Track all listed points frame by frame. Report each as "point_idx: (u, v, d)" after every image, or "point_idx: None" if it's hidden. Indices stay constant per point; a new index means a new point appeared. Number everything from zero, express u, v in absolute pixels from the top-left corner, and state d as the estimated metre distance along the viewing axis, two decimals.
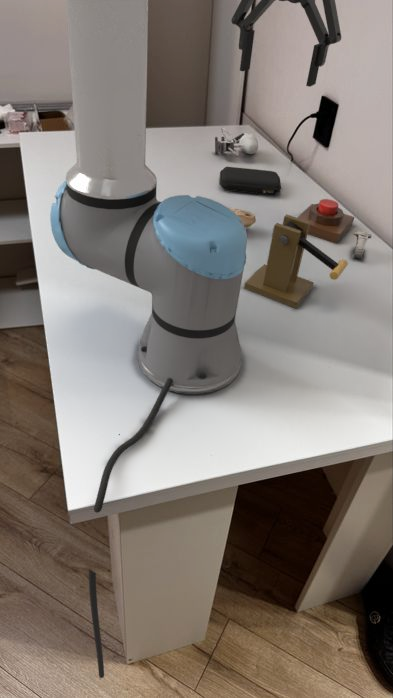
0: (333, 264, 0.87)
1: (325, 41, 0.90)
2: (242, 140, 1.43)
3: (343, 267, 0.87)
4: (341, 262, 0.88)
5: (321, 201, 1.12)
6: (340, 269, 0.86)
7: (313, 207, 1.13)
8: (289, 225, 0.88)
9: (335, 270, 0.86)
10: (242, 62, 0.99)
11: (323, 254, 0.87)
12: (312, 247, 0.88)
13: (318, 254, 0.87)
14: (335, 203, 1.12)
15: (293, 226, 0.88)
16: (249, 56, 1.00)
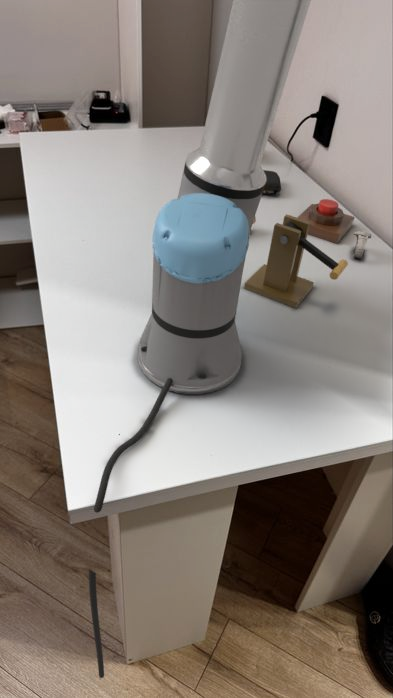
0: (333, 264, 0.87)
1: None
2: None
3: (343, 267, 0.87)
4: (341, 262, 0.88)
5: (321, 201, 1.12)
6: (340, 269, 0.86)
7: (313, 207, 1.13)
8: (289, 225, 0.88)
9: (335, 270, 0.86)
10: None
11: (323, 254, 0.87)
12: (312, 247, 0.88)
13: (318, 254, 0.87)
14: (335, 203, 1.12)
15: (293, 226, 0.88)
16: None
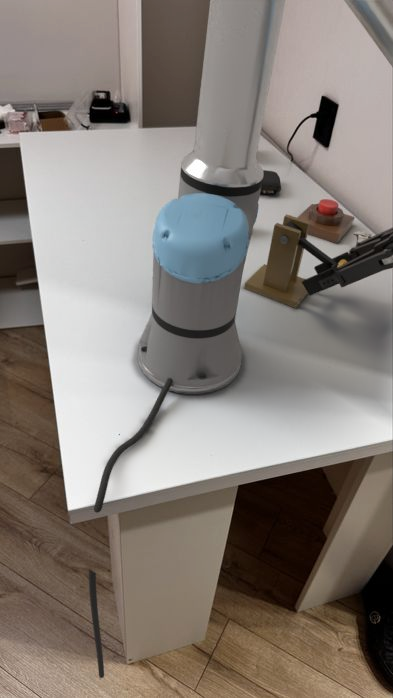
0: (333, 264, 0.87)
1: (335, 269, 0.83)
2: None
3: None
4: (341, 262, 0.88)
5: (321, 201, 1.12)
6: None
7: (313, 207, 1.13)
8: (289, 225, 0.88)
9: None
10: None
11: (323, 254, 0.87)
12: (312, 247, 0.88)
13: (318, 254, 0.87)
14: (335, 203, 1.12)
15: (293, 226, 0.88)
16: None
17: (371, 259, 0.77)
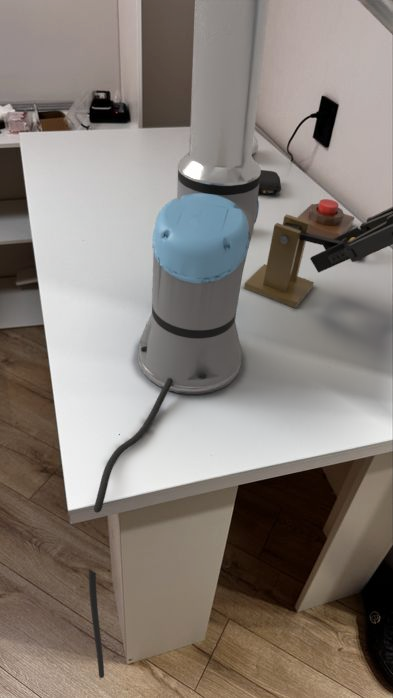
0: None
1: (345, 243, 0.80)
2: None
3: None
4: (349, 240, 0.85)
5: (321, 201, 1.12)
6: None
7: (313, 207, 1.13)
8: None
9: None
10: None
11: (328, 239, 0.86)
12: (315, 236, 0.86)
13: (323, 241, 0.86)
14: (335, 203, 1.12)
15: (290, 225, 0.88)
16: None
17: (384, 231, 0.74)
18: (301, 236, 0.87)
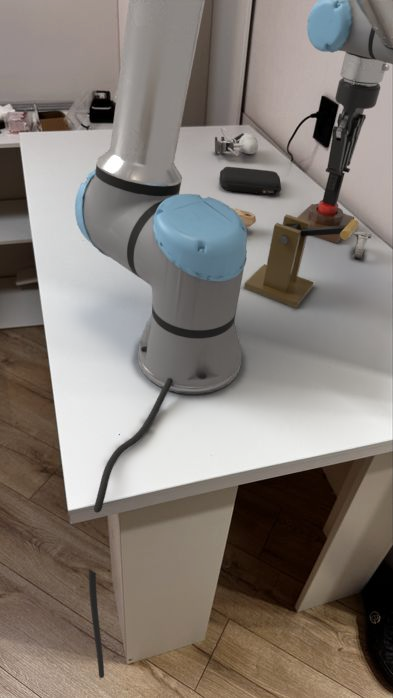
0: (340, 228, 0.83)
1: None
2: (242, 140, 1.43)
3: (352, 224, 0.83)
4: (349, 222, 0.84)
5: (321, 201, 1.12)
6: (348, 226, 0.82)
7: (313, 207, 1.13)
8: None
9: (343, 229, 0.81)
10: None
11: (327, 227, 0.85)
12: (314, 229, 0.86)
13: (322, 230, 0.85)
14: None
15: (288, 225, 0.88)
16: None
17: (332, 142, 1.00)
18: (301, 232, 0.87)
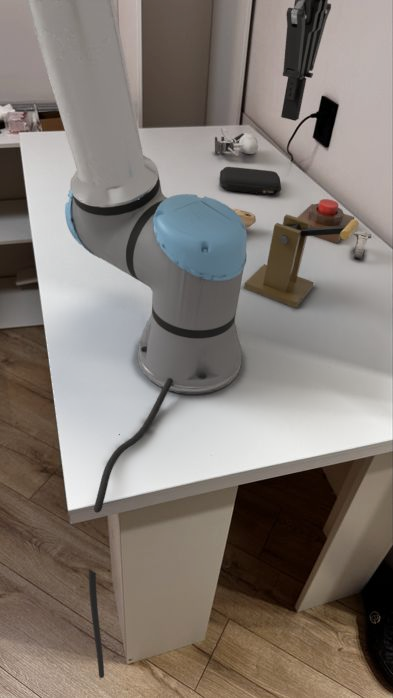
0: (340, 228, 0.83)
1: (286, 74, 0.87)
2: (242, 140, 1.43)
3: (352, 224, 0.83)
4: (349, 222, 0.84)
5: (321, 201, 1.12)
6: (348, 226, 0.82)
7: (313, 207, 1.13)
8: None
9: (343, 229, 0.81)
10: None
11: (327, 227, 0.85)
12: (314, 229, 0.86)
13: (322, 230, 0.85)
14: (335, 203, 1.12)
15: (288, 225, 0.88)
16: None
17: (287, 31, 0.81)
18: (301, 232, 0.87)
